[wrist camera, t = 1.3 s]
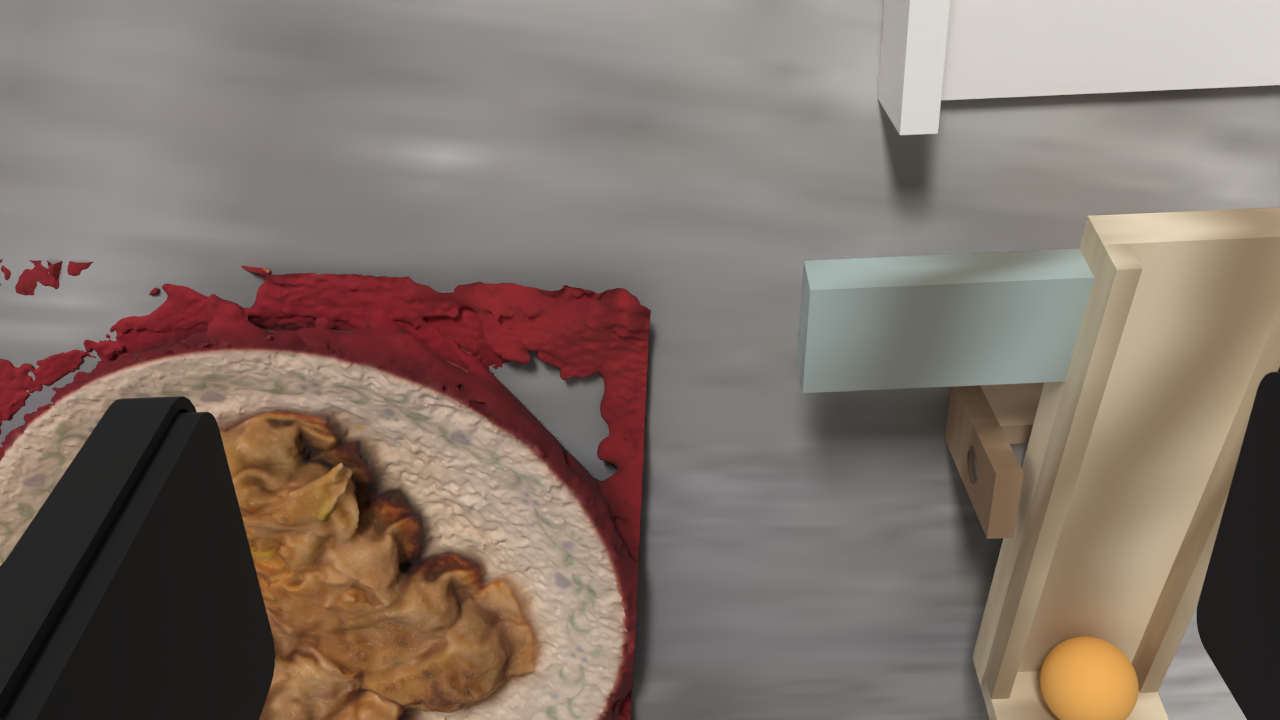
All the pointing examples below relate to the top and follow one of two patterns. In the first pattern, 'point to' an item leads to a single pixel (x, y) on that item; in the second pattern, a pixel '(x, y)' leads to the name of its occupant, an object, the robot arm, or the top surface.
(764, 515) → the top surface
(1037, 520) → the lever
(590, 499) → the plate with food
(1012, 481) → the fulcrum
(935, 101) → the dish
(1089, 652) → the ball
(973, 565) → the top surface
